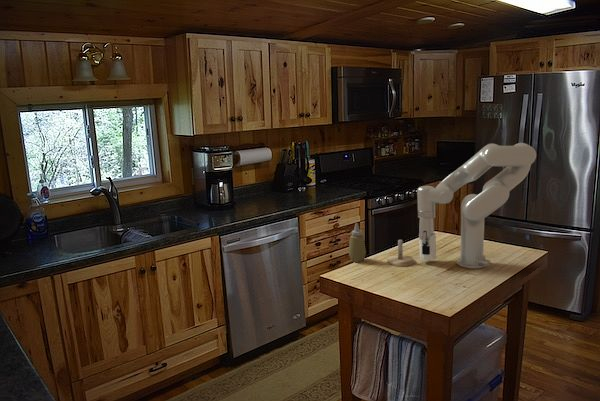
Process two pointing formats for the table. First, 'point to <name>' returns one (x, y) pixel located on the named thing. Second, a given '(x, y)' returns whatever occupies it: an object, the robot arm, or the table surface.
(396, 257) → the roll stand
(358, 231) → the squeeze bottle
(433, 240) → the paper roll
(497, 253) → the table surface
